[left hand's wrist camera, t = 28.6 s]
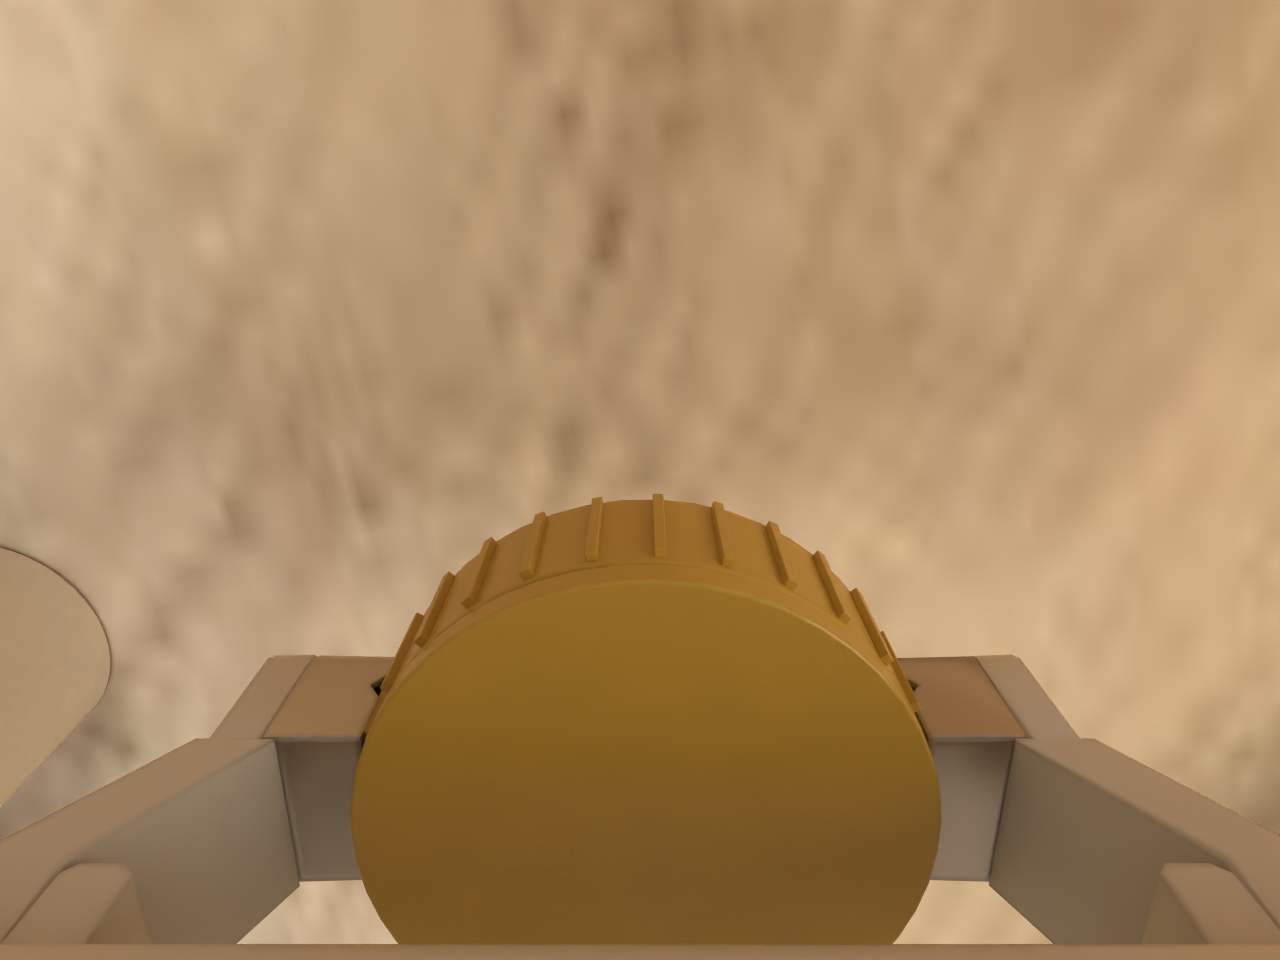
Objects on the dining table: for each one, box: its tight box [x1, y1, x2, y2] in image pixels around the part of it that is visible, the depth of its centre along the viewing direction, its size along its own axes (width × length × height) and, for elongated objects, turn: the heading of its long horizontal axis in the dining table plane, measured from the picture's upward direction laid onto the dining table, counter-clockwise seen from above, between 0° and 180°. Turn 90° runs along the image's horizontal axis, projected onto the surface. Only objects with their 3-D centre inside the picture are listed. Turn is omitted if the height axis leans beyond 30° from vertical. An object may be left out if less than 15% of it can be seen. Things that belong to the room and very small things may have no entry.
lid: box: [351, 494, 941, 944], centre depth 9 cm, size 6×6×2 cm
